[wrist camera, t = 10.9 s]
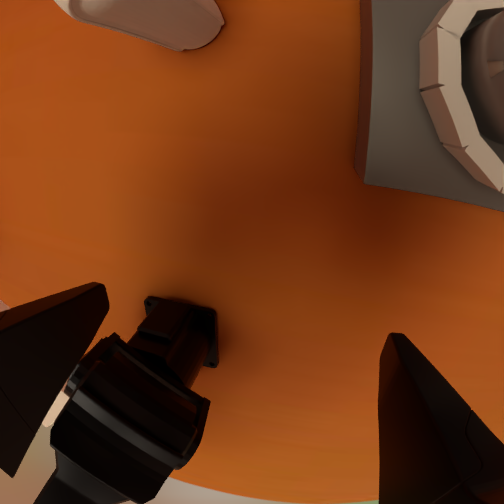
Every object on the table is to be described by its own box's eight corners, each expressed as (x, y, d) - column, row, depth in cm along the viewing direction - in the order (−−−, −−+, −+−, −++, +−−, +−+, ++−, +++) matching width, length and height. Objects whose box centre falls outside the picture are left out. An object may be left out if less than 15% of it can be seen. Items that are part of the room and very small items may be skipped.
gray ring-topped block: (527, 205, 14) (588, 247, 8) (353, 167, 17) (371, 197, 10) (536, 51, 9) (599, 42, 3) (359, -10, 12) (372, -72, 5)
